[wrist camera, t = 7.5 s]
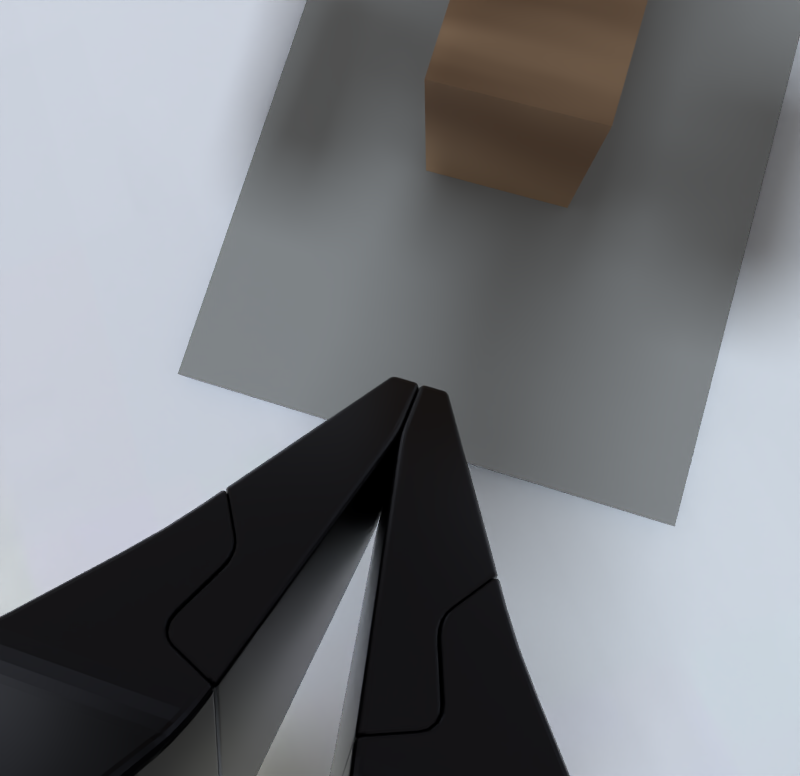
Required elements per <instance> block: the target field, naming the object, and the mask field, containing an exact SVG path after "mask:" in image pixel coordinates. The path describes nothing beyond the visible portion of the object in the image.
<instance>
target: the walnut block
mask: <svg viewBox="0 0 800 776" xmlns="http://www.w3.org/2000/svg"><path fill="white" fill-rule="evenodd" d="M647 1H648V0H450V1H449V4H448V7H447V10H446V13H445V17H444V20H443V23H442V26H441V29H440V32H439V35H438V38H437V42H436V45H435V48H434V51H433V54H432V57H431V60H430V63H429V67H428V70H427V73H426V76H425V79H424V81H425V139H426V171H430V172H434V173H437V174H441V175H445V176H449V177H452V178H456V179H460V180H464V181H468V182H471V183H475V184H479V185H483V186H486V187H490V188H494V189H498V190H501V191H505V192H509V193H513V194H516V195H520V196H524V197H528V198H532V199H535V200H539V201H543V202H547V203H550V204H554V205H558V206H562V207H565V208H568V206H569V204H570V202H571V200H572V198H573V197H574V195H575V193H576V191H577V189H578V187H579V186H580V184H581V182H582V180H583V178H584V176H585V175H586V173H587V171H588V169H589V167H590V166H591V164H592V162H593V160H594V158H595V156H596V155H597V153H598V151H599V149H600V147H601V145H602V144H603V142H604V140H605V138H606V136H607V134H608V133H609V131H610V129H611V127H612V124H613V121H614V117H615V114H616V110H617V107H618V103H619V100H620V96H621V93H622V89H623V86H624V82H625V79H626V75H627V72H628V68H629V64H630V61H631V57H632V54H633V50H634V47H635V43H636V40H637V36H638V33H639V29H640V26H641V22H642V19H643V15H644V12H645V8H646V5H647Z"/></svg>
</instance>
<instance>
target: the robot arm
mask: <svg viewBox="0 0 800 776" xmlns="http://www.w3.org/2000/svg"><path fill="white" fill-rule="evenodd" d="M379 518H380V519H379ZM378 520H379V524H378V528H377V532H376V537H375V541H374V547H373V552H372V557H371V562H370V568H369V573H368V578H367V583H366V589H365V594H364V599H363V604H362V610H361V615H360V620H359V625H358V631H357V636H356V641H355V646H354V652H353V657H352V662H351V667H350V673H349V678H348V683H347V688H346V694H345V699H344V704H343V709H342V715H341V720H340V725H339V730H338V736H337V741H336V746H335V751H334V757H333V762H332V767H331V772H330V776H570V775H569V773H568V770H567V768H566V765H565V763H564V760H563V758H562V755H561V753H560V750H559V748H558V746H557V743H556V741H555V738H554V736H553V733H552V731H551V728H550V726H549V723H548V721H547V718H546V716H545V714H544V711H543V709H542V706H541V704H540V701H539V699H538V696H537V694H536V691H535V689H534V686H533V683H532V681H531V678H530V675H529V673H528V670H527V667H526V665H525V662H524V659H523V657H522V654H521V651H520V649H519V646H518V642H517V639H516V636H515V633H514V630H513V626H512V623H511V620H510V617H509V613H508V610H507V607H506V603H505V599H504V596H503V592H502V588H501V585H500V581H499V580H498V579H496V578H497V571H496V567H495V564H494V560H493V556H492V553H491V549H490V545H489V542H488V538H487V534H486V531H485V527H484V523H483V520H482V516H481V512H480V509H479V505H478V501H477V498H476V494H475V490H474V487H473V483H472V479H471V476H470V472H469V468H468V464H467V461H466V457H465V453H464V450H463V446H462V442H461V439H460V435H459V431H458V428H457V424H456V420H455V417H454V413H453V409H452V406H451V402H450V398H449V395H448V393H447V392H445V391H443V390H439V389H436V388H432V387H429V386H426V385H423V386H421V387H420V388H419V386H418V384H417V383H415V382H412V381H409V380H406V379H402V378H399V377H390V378H389V379H387V380H386V381H384V382H383V383H381V384H380V385H378V386H377V387H375V388H374V389H372V390H371V391H369V392H368V393H367V394H365V395H364V396H362V397H361V398H359V399H358V400H356V401H355V402H353V403H352V404H350V405H349V406H347V407H346V408H344V409H343V410H341V411H340V412H338V413H337V414H335V415H334V416H332V417H331V418H329V419H328V420H327V421H325V422H324V423H322V424H321V425H319V426H318V427H316V428H315V429H313V430H312V431H310V432H309V433H307V434H306V435H304V436H303V437H301V438H300V439H298V440H297V441H295V442H294V443H292V444H291V445H289V446H288V447H287V448H285V449H284V450H282V451H281V452H279V453H278V454H276V455H275V456H273V457H272V458H270V459H269V460H267V461H266V462H264V463H263V464H261V465H260V466H258V467H257V468H255V469H254V470H252V471H251V472H249V473H248V474H246V475H245V476H244V477H242V478H241V479H239V480H238V481H236V482H235V483H233V484H232V485H230V486H229V487H227V489H226V492H225V491H221V492H219V493H218V494H216V495H215V496H213V497H212V498H210V499H209V500H208V501H206V502H205V503H203V504H202V505H200V506H199V507H197V508H195V509H194V510H192V511H191V512H189V513H187V514H186V515H184V516H183V517H181V518H180V519H178V520H176V521H175V522H173V523H172V524H170V525H169V526H167V527H165V528H164V529H162V530H160V531H159V532H157V533H155V534H153V535H151V536H150V537H148V538H146V539H144V540H143V541H141V542H139V543H137V544H135V545H134V546H132V547H130V548H128V549H127V550H125V551H123V552H121V553H119V554H118V555H116V556H114V557H112V558H110V559H108V560H106V561H104V562H103V563H101V564H99V565H97V566H95V567H93V568H91V569H89V570H88V571H86V572H84V573H82V574H80V575H78V576H76V577H74V578H73V579H71V580H69V581H67V582H65V583H63V584H61V585H59V586H58V587H56V588H54V589H52V590H50V591H48V592H46V593H44V594H43V595H41V596H39V597H37V598H35V599H33V600H31V601H29V602H27V603H26V604H24V605H22V606H20V607H18V608H16V609H14V610H12V611H11V612H9V613H7V614H5V615H3V616H1V617H0V776H256V775H257V773H258V771H259V769H260V767H261V765H262V762H263V760H264V758H265V756H266V754H267V752H268V750H269V748H270V746H271V744H272V742H273V740H274V738H275V736H276V733H277V731H278V729H279V727H280V725H281V723H282V721H283V719H284V717H285V715H286V713H287V711H288V709H289V707H290V705H291V702H292V700H293V698H294V696H295V694H296V692H297V690H298V688H299V686H300V684H301V682H302V680H303V678H304V676H305V674H306V671H307V669H308V667H309V665H310V663H311V661H312V659H313V657H314V655H315V653H316V651H317V649H318V647H319V645H320V642H321V640H322V638H323V636H324V634H325V632H326V630H327V628H328V626H329V624H330V622H331V620H332V618H333V616H334V614H335V611H336V609H337V607H338V605H339V603H340V601H341V599H342V597H343V595H344V593H345V591H346V589H347V587H348V585H349V582H350V580H351V578H352V576H353V574H354V572H355V570H356V568H357V566H358V564H359V562H360V560H361V558H362V556H363V554H364V551H365V549H366V547H367V545H368V543H369V541H370V539H371V537H372V535H373V532H374V530H375V528H376V526H377V523H378Z"/></svg>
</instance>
